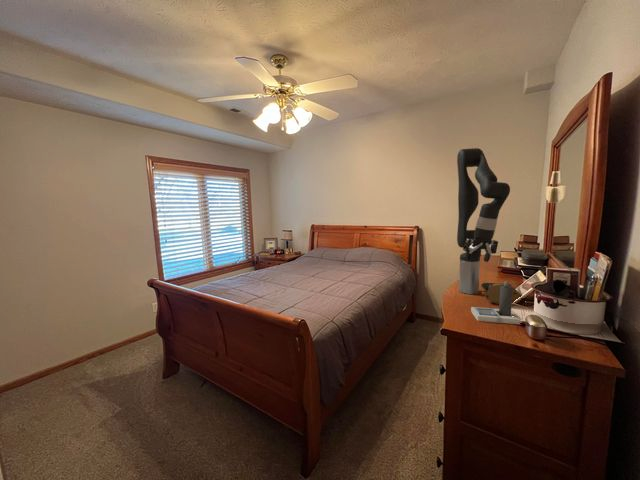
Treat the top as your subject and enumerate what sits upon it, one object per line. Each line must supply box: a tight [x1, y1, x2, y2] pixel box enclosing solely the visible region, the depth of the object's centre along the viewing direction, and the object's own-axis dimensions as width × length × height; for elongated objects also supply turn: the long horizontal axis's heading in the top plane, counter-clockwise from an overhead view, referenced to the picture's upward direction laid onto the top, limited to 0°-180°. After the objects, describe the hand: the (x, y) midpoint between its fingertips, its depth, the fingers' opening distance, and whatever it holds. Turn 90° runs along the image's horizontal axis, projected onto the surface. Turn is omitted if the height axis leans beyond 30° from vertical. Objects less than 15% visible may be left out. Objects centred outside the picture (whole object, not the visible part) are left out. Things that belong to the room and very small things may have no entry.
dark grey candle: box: [498, 280, 513, 316], centre depth 106 cm, size 4×4×15 cm
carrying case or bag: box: [480, 282, 512, 291], centre depth 142 cm, size 11×3×15 cm
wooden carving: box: [481, 282, 523, 305], centre depth 122 cm, size 16×5×10 cm, turn 74°
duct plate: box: [470, 306, 523, 325], centre depth 107 cm, size 10×15×2 cm, turn 73°
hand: (476, 260), depth 122 cm, fingers open, 8 cm apart
